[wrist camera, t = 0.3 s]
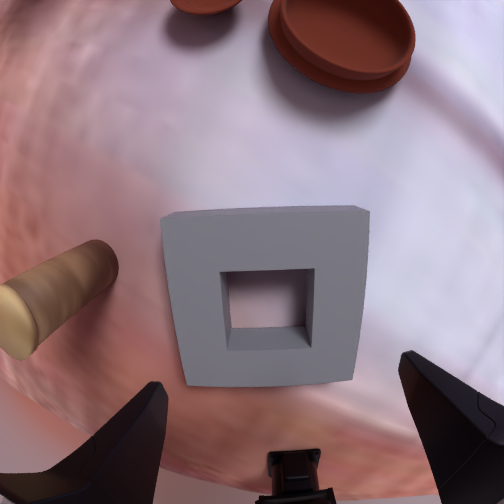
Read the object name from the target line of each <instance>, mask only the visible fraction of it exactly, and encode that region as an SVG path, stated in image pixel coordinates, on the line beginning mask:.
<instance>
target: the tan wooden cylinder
mask: <svg viewBox="0 0 504 504" xmlns="http://www.w3.org/2000/svg"><path fill="white" fill-rule="evenodd" d="M118 267H119V266H118V260H117V257H116V255H115V253H114V251H113V250H112V248H111V247H110V246H109V245H108V244H106V243H105V242H103V241H101V240H90V241H88V242H86V243H84V244H81V245H79V246H77V247H75V248H73V249H70V250H68V251H66V252H64V253H62V254H60V255H58V256H56V257H54V258H52V259H50V260H48V261H46V262H43V263H41V264H39V265H37V266H36V267H34V268H32V269H30V270H28V271H26V272H24V273H22V274H20V275H18V276H16V277H14V278H12V279H11V280H9V281H7V282H5V283H3V284H0V347H1V348H2V349H3V350H4V351H5V352H6V353H7V354H8V355H10V356H11V357H13V358H15V359H17V360H25V359H27V358H28V357H29V356H30V355H31V354H32V353H33V352H34V351H35V350H36V349H37V347H38V345H40V344H41V343H42V342H43V341H44V340H45V339H46V338H47V337H49V336H50V335H51V334H52V333H53V332H54V331H55V330H56V329H58V328H59V327H60V326H61V325H62V324H63V323H65V322H66V321H67V320H68V319H69V318H70V317H71V316H73V315H74V314H75V313H76V312H77V311H79V310H80V309H81V308H82V307H83V306H85V305H86V304H87V303H88V302H89V301H91V300H92V299H93V298H94V297H95V296H97V295H98V294H99V293H100V292H102V291H103V290H104V289H105V288H107V287H108V286H109V285H110V284H112V283H113V282H114V281H115V279H116V277H117V275H118Z"/></svg>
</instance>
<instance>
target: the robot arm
mask: <svg viewBox="0 0 504 504" xmlns="http://www.w3.org/2000/svg"><path fill="white" fill-rule="evenodd" d="M398 372H399V376H400V379H401V383H402V386H403V390H404V394H405V397H406V401H407V404H408V407H409V410H410V412H411V415H412V418H413V420H414V423H415V425H416V428H417V430H418V433H419V436H420V438H421V441H422V444H423V447H424V449H425V452H426V455H427V458H428V461H429V464H430V467H431V470H432V473H433V476H434V479H435V482H436V485H437V489H438V492H439V496H440V499H441V503H442V504H504V406H503V405H501V404H499V403H497V402H495V401H493V400H491V399H490V398H488V397H486V396H485V395H483V394H481V393H480V392H477V390H475V389H473V388H472V387H470V386H469V385H467V384H465V383H464V382H462V381H461V380H459V379H458V378H456V377H454V376H453V375H451V374H450V373H448V372H446V371H445V370H443V369H442V368H440V367H438V366H437V365H435V364H434V363H432V362H430V361H429V360H427V359H426V358H424V357H423V356H421V355H419V354H418V353H416V352H415V351H412V350H410V351H407V352H403V353H402V355H401V359H400V363H399V367H398ZM167 411H168V395H167V393H166V391H165V389H164V387H163V385H162V383H161V382H155V381H151V382H149V383H148V384H147V385H146V386H145V387H144V388H143V389H142V390H141V391H140V392H139V393H137V394H136V395H135V396H134V397H133V398H132V399H131V400H130V401H129V402H128V403H127V404H126V405H125V406H124V407H123V408H122V409H121V410H119V411H118V412H117V413H116V414H115V415H114V416H113V417H112V418H111V419H110V420H109V421H108V422H107V423H106V424H105V425H103V426H102V427H101V428H100V429H99V430H98V431H97V432H96V433H95V434H94V436H91V437H90V438H89V439H88V440H87V441H86V442H85V443H84V444H83V445H81V446H80V447H79V448H78V449H77V450H75V451H74V452H73V453H71V454H70V455H69V456H67V457H66V458H65V459H63V460H62V461H60V462H59V463H58V464H56V465H55V466H53V467H52V468H50V469H48V470H46V471H43V472H38V473H17V474H16V473H9V474H8V473H0V494H1V495H2V496H4V497H3V499H2V501H1V504H153V498H154V492H155V487H156V481H157V476H158V470H159V465H160V460H161V454H162V449H163V444H164V439H165V434H166V423H167ZM320 454H321V451H320V449H310V450H298V451H282V452H270V453H269V454H268V462H269V477H272V496H264V495H263V496H259V500H257V501H255V504H336V500H335V496H334V492H333V488H328V489H324V490H320V489H319V482H318V476H317V467H318V463H319V458H320Z"/></svg>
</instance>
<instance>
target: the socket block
mask: <svg viewBox="0 0 504 504" xmlns="http://www.w3.org/2000/svg"><path fill="white" fill-rule="evenodd" d="M369 219H370V211H367V210H365V209H362V208H359V207H356V206H289V207H259V208H236V209H217V210H200V211H184V212H174V213H172V214H170V215H167V216H165V217H163V218H161V219H160V225H161V234H162V243H163V252H164V260H165V267H166V275H167V282H168V288H169V295H170V301H171V307H172V313H173V319H174V325H175V330H176V335H177V341H178V346H179V351H180V356H181V361H182V365H183V370H184V374H185V379H186V383H187V385H189V386H209V387H272V386H293V385H308V384H320V383H330V382H339V381H347V380H352V378H353V373H354V368H355V362H356V356H357V350H358V344H359V337H360V330H361V322H362V314H363V306H364V297H365V286H366V275H367V262H368V245H369ZM286 269H307V292H306V324H305V326H292V327H269V328H231V318H230V307H229V295H228V282H227V272H228V271H259V270H286Z"/></svg>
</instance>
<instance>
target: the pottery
mask: <svg viewBox="0 0 504 504" xmlns="http://www.w3.org/2000/svg"><path fill="white" fill-rule="evenodd" d="M170 1H171V3H172V4H173V5H174V6H175V7H176V8H177V9H179V10H181V11H183V12H186V13H189V14H193V15H215V14H219V13H222V12H224V11H226V10H228V9H230V8H232V7H234V6H236V5H237V4H238V3H240V2H241V1H242V0H170ZM268 25H269V31H270V34H271V37H272V39H273V42H274V44H275V45H276V47H277V49H278V50H279V52H280V53H281V54H282V56H283V57H284V58H285V59H286V60H287V61H288V62H289V63H290V64H291V65H292V66H293V67H294V68H296V69H297V70H298V71H299V72H301V73H302V74H304V75H305V76H307V77H308V78H310V79H312V80H314V81H316V82H318V83H320V84H322V85H324V86H327V87H330V88H333V89H336V90H340V91H345V92H351V93H372V92H377V91H381V90H384V89H387V88H389V87H391V86H393V85H394V84H396V83H397V82H398V81H399V80H400V79H401V78H402V77H403V76H404V75H405V73H406V71H407V70H408V67H409V65H410V61H411V55H412V53H413V51H414V48H415V30H414V26H413V23H412V21H411V18H410V16H409V15H408V13H407V11H406V10H405V8H404V7H403V5H402V4H401V3H400V2H399V1H398V0H274V1H273V2H272V5H271V7H270V10H269V15H268Z"/></svg>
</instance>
